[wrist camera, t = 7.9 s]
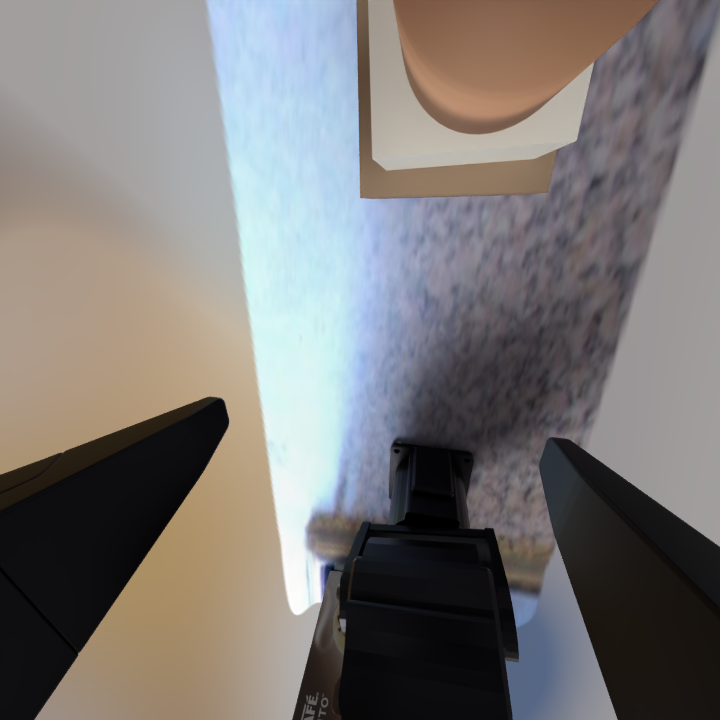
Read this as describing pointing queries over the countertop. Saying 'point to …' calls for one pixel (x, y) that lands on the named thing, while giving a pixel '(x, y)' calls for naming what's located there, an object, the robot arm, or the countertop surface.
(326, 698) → the coffee box
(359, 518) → the countertop surface
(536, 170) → the tower base
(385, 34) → the tower top block
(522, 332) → the countertop surface
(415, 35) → the brown short cylinder
